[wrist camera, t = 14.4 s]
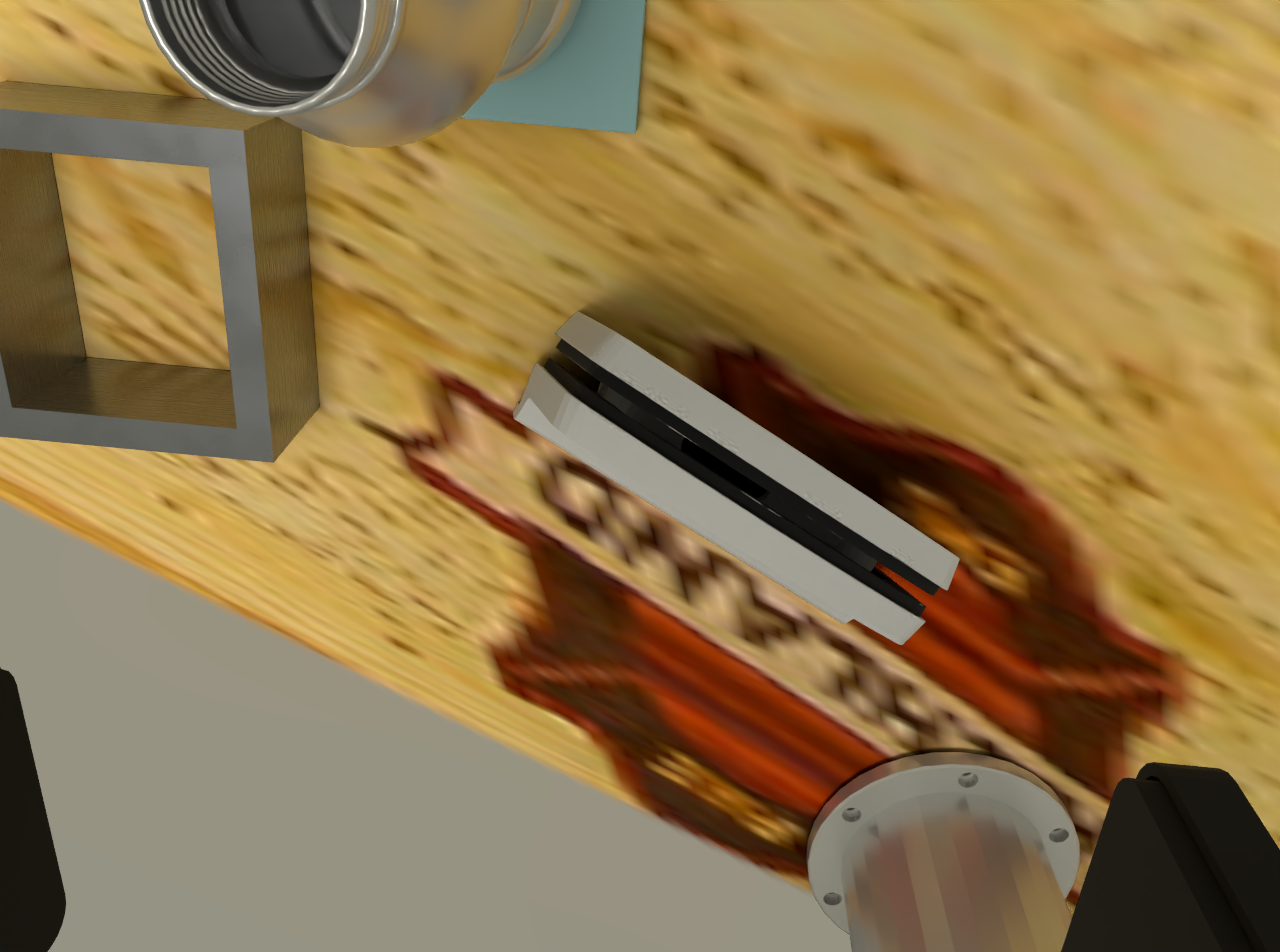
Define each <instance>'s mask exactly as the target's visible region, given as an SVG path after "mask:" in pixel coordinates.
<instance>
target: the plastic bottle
mask: <svg viewBox="0 0 1280 952" xmlns="http://www.w3.org/2000/svg"><path fill="white" fill-rule="evenodd" d="M139 2H140V5H141V8H142V11H143V14H144V17H145V21H146V23H147V25H148V27H149V29H150V31H151V33H152V35H153V37H154V39H155V41H156V43H157V45H158V47H159V48H160V50H161V51H162V53H163V54H164V55H165V57H166V58H167V60H168V61H169V62H170V64H171V65H172V67H173V68H174V69H175V70H176V71H177V72H178V73H179V74H180V75H181V76H182V77H183V78H184V79H185V80H186V81H187V82H188V83H189V84H190V85H191V86H192V87H194V88H195V89H196V90H198V91H199V92H200V93H202V94H203V95H205V96H206V97H207V98H209V99H210V100H212V101H214V102H216V103H218V104H220V105H223V106H225V107H227V108H229V109H231V110H234V111H238V112H242V113H246V114H249V115H253V116H271V117H279V118H281V119H282V120H284V121H285V122H287V123H290V124H292V125H294V126H296V127H298V128H300V129H302V130H304V131H306V132H308V133H311V134H313V135H315V136H317V137H319V138H322V139H324V140H328V141H332V142H336V143H340V144H344V145H348V146H352V147H368V148H387V147H392V146H398V145H404V144H410V143H413V142H416V141H418V140H421V139H423V138H426V137H428V136H430V135H433V134H435V133H438V132H440V131H441V130H442V129H444V128H445V127H447V126H448V125H450V124H451V123H453V122H454V121H455V120H457V119H458V118H460V117H461V116H463V115H464V114H465V113H466V112H467V111H468V110H469V109H470V107H471V106H472V105H473V104H474V103H475V102H476V101H477V100H478V99H479V98H480V97H481V96H482V95H483V94H484V92H485V91H486V90H487V88H488V87H489V86H490V85H491V84H494V83H499V82H505V81H509V80H512V79H514V78H517V77H519V76H521V75H524V74H526V73H528V72H530V71H531V70H532V69H534V68H535V67H537V66H538V65H540V64H541V63H543V62H544V61H545V60H546V59H547V58H548V57H549V56H550V55H551V54H552V53H553V52H554V51H555V50H556V49H557V47H558V46H559V45H560V44H561V42H562V41H563V39H564V37H565V36H566V34H567V33H568V31H569V30H570V28H571V26H572V24H573V21H574V19H575V16H576V14H577V11H578V9H579V6H580V3H581V0H139Z"/></svg>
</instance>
